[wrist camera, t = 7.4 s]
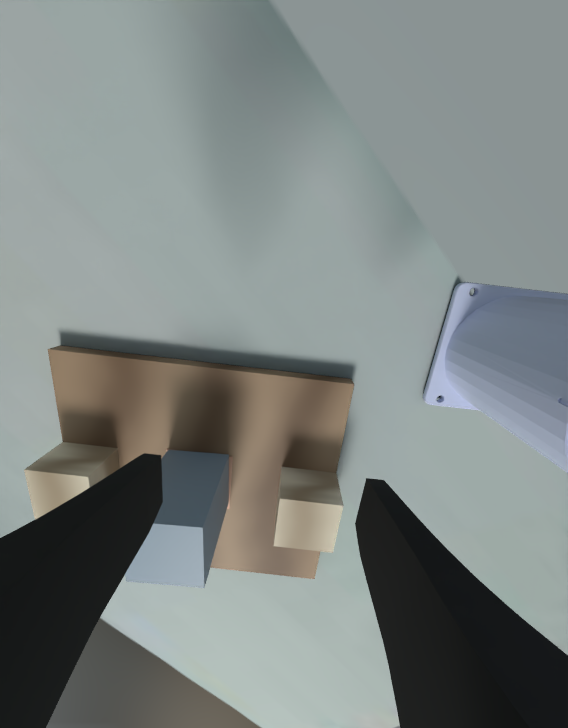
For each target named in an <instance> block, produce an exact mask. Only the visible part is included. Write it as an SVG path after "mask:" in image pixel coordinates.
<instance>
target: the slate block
mask: <svg viewBox="0 0 568 728" xmlns="http://www.w3.org/2000/svg"><path fill="white" fill-rule="evenodd" d="M161 460H162V490H163V503H162V505H161V507H160V510H159V512H158V514H157V517H156V519H155V521H154V523H153V525H152V528H151V530H150V532H149V534H148V535H147V537H146V539H145V541H144V542H143V544H142V546H141V548H140V549H139V551H138V553H137V555H136V556H135V558H134V560H133V561H132V563H131V565H130V566H129V568H128V570H127V572H126V573H125V577H126V581H128V582H140V583H152V584H164V585H176V586H188V587H199V588H204V587H205V584H206V580H207V577H208V573H209V570H210V566H211V563H212V559H213V556H214V552H215V549H216V545H217V542H218V538H219V535H220V531H221V527H222V524H223V520H224V517H225V513H226V510H227V506H228V498H229V455H228V454H216V453H203V452H191V451H178V450H168V451H167V452H166V453H165V455H164V456H163V458H162V459H161Z"/></svg>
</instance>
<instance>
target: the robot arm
mask: <svg viewBox="0 0 568 728" xmlns="http://www.w3.org/2000/svg"><path fill="white" fill-rule="evenodd" d="M472 288H474V294H473V295H471V296H470V294H469V292H470V290H471V289H472ZM438 396H441V398H440V399H439V400H436V398H437V397H438ZM423 399H424V401H425V402H426V403H428V404H430V405H438V406H447V407H455V408H464V409H473V410H480V411H482V412H483V413H484V414H486V415H487V416H489V417H490V418H491V419H493V420H494V421H496V422H497V423H498V424H500V425H501V426H503V427H504V428H505V429H507V430H508V431H510V432H511V433H512V434H514V435H515V436H517V437H518V438H519V439H521V440H522V441H524V442H525V443H526V444H528V445H529V446H531V447H532V448H533V449H535V450H536V451H538V452H539V453H540V454H542V455H543V456H545V457H546V458H547V459H549V460H550V461H552V462H553V463H554V464H556V465H557V466H559V467H560V468H561V469H563V470H564V471H565V472H567V473H568V294H563V293H556V292H555V293H554V292H547V291H538V290H530V289H520V288H512V287H504V286H495V285H487V284H478V283H469V282H462V283H459V284H458V285H457V286H456V287H455V289H454V292H453V295H452V298H451V302H450V305H449V309H448V312H447V315H446V319H445V322H444V326H443V329H442V333H441V336H440V339H439V343H438V346H437V350H436V353H435V357H434V360H433V363H432V367H431V370H430V374H429V377H428V381H427V384H426V387H425V391H424V394H423ZM162 503H163V490H162V460H161V455H156V454H147V453H143V454H142V455H140V456H138V457H137V458H135V459H134V460H132V461H130V462H129V463H127V464H126V465H124V466H123V467H121V468H120V469H118V470H116V471H115V472H113V473H112V474H110V475H109V476H107V477H106V478H104V479H102V480H101V481H99V482H98V483H96V484H95V485H93V486H91V487H90V488H88V489H87V490H85V491H83V492H82V493H80V494H79V495H77V496H75V497H73V498H72V499H70V500H68V501H67V502H65V503H63V504H61V505H60V506H58V507H56V508H55V509H53V510H51V511H50V512H48V513H46V514H44V515H43V516H41V517H39V518H37V519H36V520H34V521H32V522H30V523H28V524H26V525H25V526H23V527H21V528H19V529H17V530H15V531H13V532H11V533H9V534H7V535H5V536H3V537H2V538H0V728H46V726H47V724H48V722H49V720H50V717H51V716H52V714H53V711H54V709H55V707H56V705H57V703H58V701H59V699H60V697H61V695H62V692H63V690H64V688H65V686H66V684H67V682H68V680H69V678H70V676H71V674H72V671H73V670H74V667H75V665H76V663H77V661H78V659H79V657H80V655H81V653H82V651H83V649H84V647H85V645H86V643H87V641H88V639H89V637H90V635H91V633H92V631H93V629H94V627H95V625H96V624H97V622H98V620H99V618H100V616H101V614H102V613H103V611H104V609H105V607H106V606H107V604H108V602H109V600H110V599H111V597H112V595H113V594H114V592H115V590H116V589H117V587H118V585H119V583H120V582H121V580H122V578H123V577H124V575H125V573H126V572H127V570H128V568H129V566H130V565H131V563H132V561H133V560H134V558H135V556H136V555H137V553H138V551H139V549H140V548H141V546H142V544H143V542H144V541H145V539H146V537H147V535H148V534H149V532H150V530H151V528H152V525H153V523H154V521H155V519H156V517H157V514H158V512H159V510H160V507H161V505H162ZM355 525H356V532H357V539H358V545H359V551H360V557H361V560H362V564H363V568H364V572H365V576H366V580H367V583H368V587H369V591H370V594H371V598H372V602H373V606H374V609H375V613H376V617H377V620H378V624H379V628H380V631H381V635H382V639H383V643H384V647H385V651H386V656H387V660H388V664H389V669H390V675H391V680H392V685H393V690H394V695H395V701H396V706H397V711H398V717H399V722H400V727H401V728H568V655H566V654H565V653H564V652H563V651H561V650H560V649H559V648H558V647H557V646H555V645H554V644H553V643H552V642H550V641H549V640H548V639H547V638H545V637H544V636H543V635H542V634H541V633H539V632H538V631H537V630H536V629H534V628H533V627H532V626H531V625H529V624H528V623H527V622H526V621H525V620H524V619H522V618H521V617H520V616H519V615H518V614H516V613H515V612H514V611H513V610H512V609H511V608H509V607H508V606H507V605H506V604H505V603H504V602H503V601H502V600H500V599H499V598H498V597H497V596H496V595H495V594H494V593H493V592H492V591H490V590H489V589H488V588H487V587H486V586H485V585H484V584H483V583H482V582H480V581H479V580H478V579H477V578H476V577H475V576H474V575H473V574H472V573H471V572H470V571H469V570H468V569H467V568H466V567H465V566H464V565H463V564H462V563H461V562H460V561H459V560H458V559H457V558H456V557H455V556H454V555H453V554H452V553H450V552H449V551H448V550H447V549H446V548H445V546H444V545H443V544H442V543H441V542H440V541H439V540H438V539H437V538H436V537H435V536H434V535H433V534H432V533H431V532H430V531H429V530H428V529H427V528H426V526H425V525H424V524H423V523H422V522H421V521H420V520H419V519H418V518H417V517H416V516H415V514H414V513H413V512H412V511H411V510H410V509H409V508H408V507H407V505H406V504H405V503H404V502H403V501H402V500H401V499H400V498H399V496H398V495H397V494H396V493H395V492H394V491H393V490H392V489H391V487H390V486H389V485H388V484H387V483H386V482H385V481H384V480H377V479H368V478H366V482H365V486H364V490H363V494H362V498H361V502H360V506H359V510H358V515H357V519H356V523H355Z"/></svg>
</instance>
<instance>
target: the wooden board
mask: <svg viewBox="0 0 568 728" xmlns="http://www.w3.org/2000/svg"><path fill="white" fill-rule="evenodd" d="M48 353H49V360H50V366H51V372H52V378H53V384H54V390H55V397H56V403H57V409H58V415H59V421H60V427H61V434H62V440H63V442H62V443H61V444H59V445H58V446H57V447H55V448H54V449H52V450H51V451H50V452H48V453H47V454H45V455H44V456H43V457H41V458H40V459H38V460H37V461H36V462H34V463H33V464H32V465H30V466H29V467H27V468H26V469H25V470H24V471H25V476H26V480H27V485H28V489H29V494H30V499H31V503H32V508H33V512H34V517H35V519H37V518H39V517H41V516H43V515H44V514H46V513H48V512H50V511H51V510H53V509H55V508H56V507H58V506H60V505H61V504H63V503H65V502H67V501H68V500H70V499H72V498H73V497H75V496H77V495H79V494H80V493H82V492H83V491H85V490H87V489H88V488H90V487H91V486H93V485H95V484H96V483H98V482H99V481H101V480H102V479H104V478H106V477H107V476H109V475H110V474H112V473H113V472H115V471H116V470H118V469H120V468H121V467H123V466H124V465H126V464H127V463H129V462H130V461H132V460H134V459H135V458H137V457H138V456H140V455H142V454H143V453H147V454H156V455H161V459H162V458H163V456H164V455H165V453H166V452H167V451H168V450H178V451H191V452H203V453H216V454H228V455H229V498H228V506H227V510H226V513H225V517H224V520H223V524H222V527H221V531H220V535H219V538H218V542H217V545H216V549H215V552H214V556H213V559H212V563H211V566H210V567H211V568H220V569H229V570H238V571H247V572H256V573H265V574H274V575H283V576H292V577H300V578H309V579H315V574H316V569H317V564H318V559H319V554H320V551H322V552H331V553H333V550H334V545H335V541H336V537H337V532H338V528H339V523H340V519H341V514H342V510H343V502H342V497H341V493H340V488H339V484H338V479H337V474H336V471H337V466H338V461H339V457H340V452H341V447H342V442H343V437H344V432H345V427H346V422H347V417H348V413H349V408H350V403H351V398H352V393H353V388H354V383H353V381H352V379H348V378H339V377H331V376H322V375H313V374H304V373H296V372H287V371H278V370H269V369H261V368H252V367H243V366H235V365H226V364H217V363H208V362H200V361H191V360H182V359H173V358H165V357H156V356H147V355H138V354H130V353H121V352H112V351H104V350H95V349H86V348H77V347H69V346H57V347H54V348H50V349H48Z"/></svg>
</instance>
